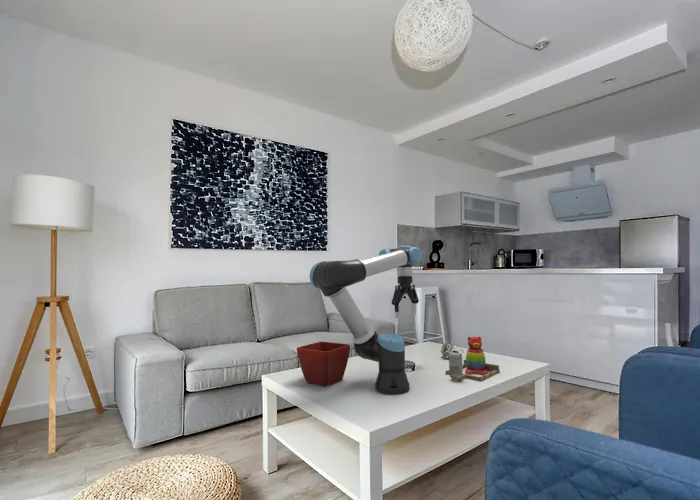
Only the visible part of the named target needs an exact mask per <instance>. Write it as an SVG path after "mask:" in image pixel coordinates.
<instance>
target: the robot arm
mask: <svg viewBox="0 0 700 500" xmlns="http://www.w3.org/2000/svg"><path fill="white" fill-rule="evenodd" d="M422 258H423V253H422V250H421V249H420V248H419V247H417V246H411V245H398V246H397V247H396V248H382V249H381V250H380V251H379V252H378V255H377V256H372V257H369V258H364V259H362V260H361V259H358V258H357V259H350V260H331V261H329V260H328V261H327V260H323V261H318V262H317V263H315V264H314V265H313V266H312V267H311V269H310V271H309V281H310V284H311V285H312V286H313V287H315V288H317V289H320V291H321V293H322V294H323V296H324V297H326V298H329V299H330V301H331V303H332V304H333V305H334V308H335V309H336V310H337V312H338V313H339V315H340V317H341V318H342V320H343V322H344V323H345V325H346V327H347V328H348V330H349V332H351V334H352V342H353V346H352V347H353V351H354V353H355V354H356V355H357V356H358V357H360V358H361V359H364V360H367V361H368V360H369V361H373V362H375V363H378V373H377V377H376V380H375V384H374V387H375V389H374V390H375V391H376V392H377V393H379V394H384V395H395V396H396V395H402V394H406V393H408V392H410V390H411V387H410V381H409V379H408V376H407V373H406V353H405V352H406V348H405V347H406V346H405V339H404V338H403V337H401V336H400V335H397V334H394V333H380V334H378V332H377V331H376V328H374V327H373V326H370V325H369V323H368V322H367V320H366V318H365V317H364V315H363V314H362V312H361V310H360V309H359V307H358V305H357V303H356V302H355V300H354V298H353V297H352V295H351V294H350V292H349V290H348V289H347V287H349V286H352V285H355V284H357V283H360V282H361V283H362V282H363V281H365V280H366V278H368V277H371V276H375V275H378V274H380V273H384V272H387V271H390V270H393V269H396V268H397V283H398V284H399V285H397V284H396V285H395V287H394V293H393V296H392V299H391V305H392V306H394V319H398V320H400V319H401V318H402V317H401V304H400V303H401V301H402V299H403V297H404V295H407V296H408V298H409V300H410V302H411V303H410V316H411V317H417V304H419V302H420V301H419V296H418V293H417V291H416V285H415V284H413V276H412V275H413V264H418V263H420V262H421V260H422Z"/></svg>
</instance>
